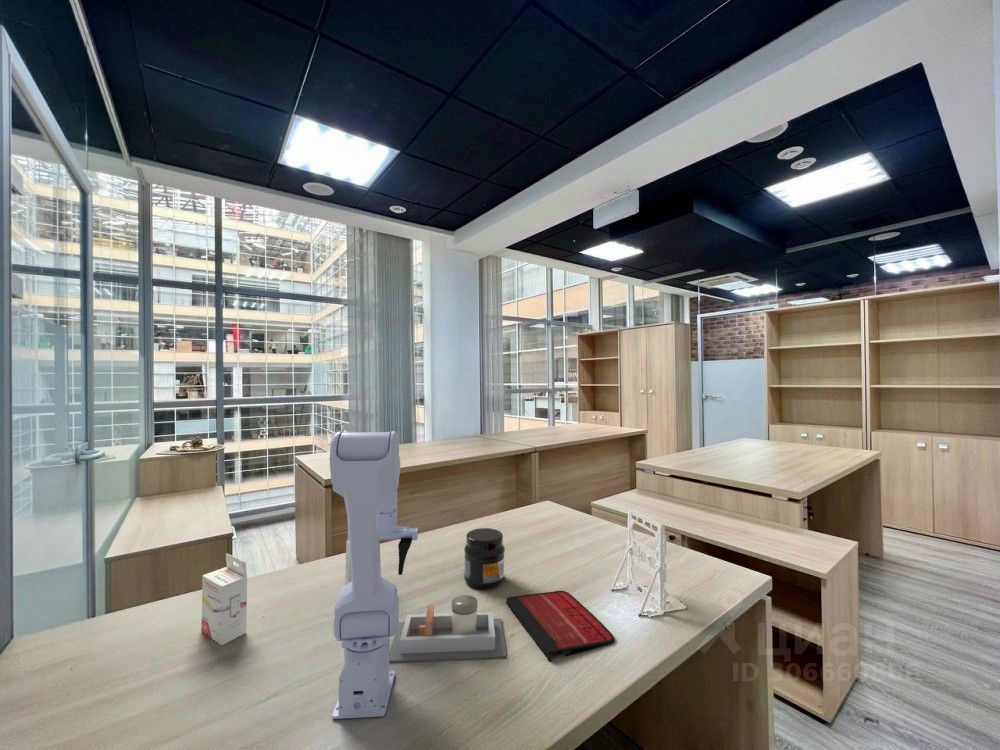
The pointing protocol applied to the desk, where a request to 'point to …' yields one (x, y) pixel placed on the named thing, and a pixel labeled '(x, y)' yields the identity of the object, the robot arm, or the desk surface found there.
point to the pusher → (428, 623)
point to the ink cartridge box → (225, 601)
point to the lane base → (447, 640)
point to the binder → (559, 623)
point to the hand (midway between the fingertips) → (382, 573)
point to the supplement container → (484, 558)
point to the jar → (464, 615)
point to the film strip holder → (658, 555)
